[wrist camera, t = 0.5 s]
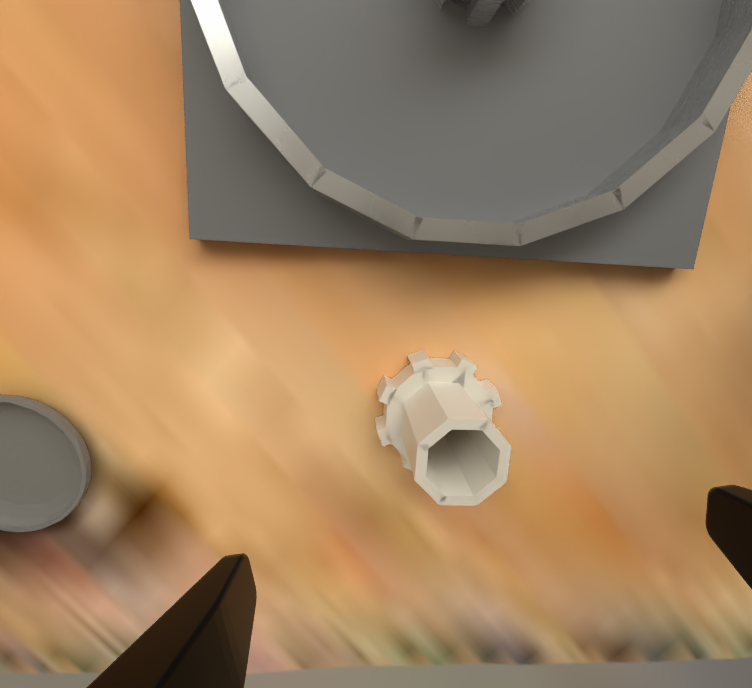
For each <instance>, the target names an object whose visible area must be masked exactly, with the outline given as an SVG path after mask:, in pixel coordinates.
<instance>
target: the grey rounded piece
mask: <svg viewBox="0 0 752 688" xmlns="http://www.w3.org/2000/svg"><path fill="white" fill-rule="evenodd" d="M90 480H91V458H90V455H89V452H88V449H87V446H86V443H85V441H84V439H83V438H82V436H81V435H80V433H79V432H78V430H77V429H76V428H75V427H74V426H73V425H72V424H71V423H70V422H69V420H67V419H66V418H65V417H64V416H62V415H61V414H60V413H59V412H58V411H56V410H54V409H53V408H51V407H49V406H47V405H45V404H43V403H41V402H38V401H35V400H32V399H29V398H26V397H23V396H13V395H2V394H0V530H3V531H10V532H29V531H34V530H40V529H43V528H46V527H48V526H50V525H53V524H55V523H58V522H59V521H61V520H62V519H63V518H65V517H66V516H67V515H69V514H70V513H71V512H72V511H73V510H74V509H75V508H76V507H77V506H78V505H79V504H80V502H81V500H82V499H83V497H84V496H85V494H86V492H87V490H88V486H89V483H90Z"/></svg>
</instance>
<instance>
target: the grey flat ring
mask: <svg viewBox="0 0 752 688" xmlns="http://www.w3.org/2000/svg"><path fill="white" fill-rule="evenodd" d="M191 2H192V5H193V7H194V10H195V12H196V15H197V17H198V20H199V23H200V25H201V28H202V30H203V33H204V35H205V38H206V40H207V43H208V46H209V48H210V51H211V53H212V56H213V58H214V61H215V64H216V66H217V69H218V71H219V74H220V76H221V79H222V82H223V84H224V87H225V89H226V91H227V92H228V93H229V94H230V96H231V97H232V98H233V99H234V101H235V102H236V103H237V104H238V106H239V107H240V108H241V109H242V110H243V111H244V113H245V114H246V115H247V116H248V117H249V118H250V119H251V121H252V122H253V123H254V124H255V125H256V126H257V127H258V129H259V130H260V131H261V132H262V133H263V134H264V135H265V137H266V138H267V139H268V140H269V141H270V142H271V143H272V145H273V146H274V147H275V148H276V149H277V150H278V151H279V153H280V154H281V155H282V156H283V157H284V158H285V159H286V161H287V162H288V163H289V164H290V165H291V166H292V168H293V169H294V170H295V171H296V172H297V173H298V174H299V176H300V177H301V178H302V179H303V180H304V181H305V182H306V184H307V185H308V186H309V187H310V188H311V189H312V190H313V192H314V193H315V194H317V195H319V196H321V197H323V198H325V199H327V200H329V201H331V202H333V203H335V204H337V205H339V206H341V207H343V208H345V209H347V210H349V211H351V212H353V213H354V214H356V215H358V216H360V217H362V218H364V219H366V220H368V221H370V222H372V223H374V224H376V225H378V226H380V227H382V228H384V229H386V230H388V231H390V232H392V233H394V234H396V235H398V236H400V237H402V238H404V239H406V240H420V241H436V242H453V243H469V244H485V245H501V246H522V245H525V244H528V243H530V242H533V241H536V240H539V239H542V238H544V237H547V236H550V235H553V234H556V233H559V232H561V231H564V230H567V229H570V228H573V227H576V226H578V225H581V224H584V223H587V222H590V221H592V220H595V219H598V218H601V217H604V216H607V215H609V214H612V213H615V212H618V211H621V210H624V209H625V208H626V207H627V206H628V205H630V204H631V203H632V202H633V201H634V200H636V199H637V198H638V197H639V196H640V195H641V194H643V193H644V192H645V191H646V190H647V189H648V188H650V187H651V186H652V185H653V184H654V183H655V182H657V181H658V180H659V179H660V178H661V177H662V176H664V175H665V174H666V173H667V172H668V171H669V170H671V169H672V168H673V167H674V166H675V165H677V164H678V163H679V162H680V161H681V160H682V159H684V158H685V157H686V156H687V155H688V154H689V153H691V152H692V151H693V150H694V149H695V148H696V147H698V146H699V145H700V144H701V143H702V142H703V141H705V140H706V139H707V138H708V137H709V136H711V135H712V134H713V133H714V132H715V131H716V129H717V127H718V126H719V124H720V122H721V121H722V119H723V117H724V116H725V114H726V112H727V111H728V109H729V107H730V106H731V104H732V102H733V101H734V99H735V97H736V96H737V94H738V92H739V91H740V89H741V87H742V86H743V84H744V82H745V81H746V79H747V77H748V76H749V74H750V72H751V71H752V0H723V1H722V5H721V10H720V15H719V19H718V24H717V29H716V33H715V37H714V39H713V41H712V42H711V44H710V46H709V48H708V49H707V51H706V53H705V55H704V56H703V58H702V60H701V62H700V63H699V65H698V67H697V69H696V70H695V72H694V74H693V76H692V77H691V79H690V81H689V82H688V84H687V86H686V88H685V89H684V91H683V93H682V95H681V96H680V98H679V100H678V102H677V103H676V105H675V107H674V109H673V110H672V112H671V114H670V116H669V117H668V119H667V121H666V123H665V124H664V126H663V128H662V129H661V131H660V132H659V133H658V134H656V135H655V136H654V137H653V138H652V139H651V140H649V141H648V142H647V143H646V144H645V145H644V146H643V147H641V148H640V149H639V150H638V151H637V152H636V153H635V154H633V155H632V156H631V157H630V158H629V159H628V160H626V161H625V162H624V163H623V164H622V165H621V166H620V167H618V168H617V169H616V170H615V171H614V172H613V173H611V174H610V175H609V176H608V177H607V178H606V179H605V180H603V181H602V182H601V183H600V184H599V185H598V186H596V187H595V188H594V189H593V190H592V191H591V192H590V193H588V194H587V195H586V196H583V197H580V198H577V199H574V200H572V201H569V202H566V203H563V204H560V205H558V206H555V207H552V208H549V209H546V210H544V211H541V212H538V213H535V214H532V215H529V216H527V217H524V218H521V219H518V220H515V221H513V222H510V223H501V222H486V221H471V220H456V219H441V218H426V217H418V216H416V215H414V214H412V213H410V212H408V211H406V210H405V209H403V208H401V207H399V206H397V205H395V204H393V203H391V202H389V201H387V200H385V199H383V198H382V197H380V196H378V195H376V194H374V193H372V192H370V191H368V190H366V189H364V188H362V187H360V186H358V185H357V184H355V183H353V182H351V181H349V180H347V179H345V178H343V177H341V176H339V175H337V174H335V173H333V172H332V171H330V170H328V169H326V168H324V167H323V165H322V164H321V163H320V162H319V161H318V160H317V158H316V157H315V156H314V155H313V154H312V153H311V151H310V150H309V149H308V148H307V147H306V146H305V144H304V143H303V142H302V141H301V140H300V139H299V137H298V136H297V135H296V134H295V133H294V132H293V130H292V129H291V128H290V127H289V126H288V124H287V123H286V122H285V121H284V120H283V119H282V117H281V116H280V115H279V114H278V113H277V112H276V110H275V109H274V108H273V107H272V106H271V105H270V103H269V102H268V101H267V100H266V99H265V98H264V96H263V95H262V94H261V93H260V92H259V90H258V89H257V88H256V87H255V86H254V83H253V80H252V78H251V75H250V72H249V70H248V67H247V64H246V61H245V59H244V56H243V53H242V51H241V48H240V45H239V43H238V40H237V37H236V35H235V32H234V29H233V27H232V24H231V21H230V19H229V16H228V13H227V10H226V8H225V5H224V2H223V0H191Z"/></svg>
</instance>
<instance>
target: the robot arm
mask: <svg viewBox="0 0 752 688" xmlns="http://www.w3.org/2000/svg"><path fill="white" fill-rule="evenodd" d="M706 528H707V531H708V533H709V535H710V537H711V538H712V540H713V541H714V542H715V544H716V545H717V546H718V547H719V549H720V550H721V551H722V552H723V554H724V555H725V556H726V557H727V559H728V560H729V561H730V562H731V564H732V565H733V566H734V568H735V569H736V570H737V571H738V573H739V574H740V575H741V576H742V578H743V579H744V580H745V581H746V583H747V584H748V585H749V586H750V588H751V589H752V490H750V489H746V488H743V487H740V486H736V485H727V486H720V487H714V488H712V489H710V491H709V492H708V498H707V512H706ZM255 607H256V586H255V582H254V578H253V574H252V570H251V565H250V561H249V558H248V556H247V555H246V554H244V553H242V554H235V555H228V556H225V557H223V558H222V559H221V560H220V561H219V562H218V563H217V564H216V565H215V566H214V567H212V568H211V569H210V570H209V571H208V572H207V573H206V574H205V575H204V576H203V577H202V578H201V579H200V580H199V581H198V582H197V583H196V584H195V585H194V586H193V587H192V588H190V589H189V590H188V591H187V592H186V593H185V594H184V595H183V596H182V597H181V598H180V599H179V600H178V601H177V602H176V603H175V604H174V605H173V606H172V607H171V608H170V609H169V610H167V611H166V612H165V613H164V614H163V615H162V616H161V617H160V618H159V619H158V620H157V621H156V622H155V623H154V624H153V625H152V626H151V627H150V628H149V629H148V630H147V631H145V632H144V633H143V634H142V635H141V636H140V637H139V638H138V639H137V640H136V641H135V642H134V643H133V644H132V645H131V646H130V647H129V648H128V649H127V650H126V651H125V652H124V653H122V654H121V655H120V656H119V657H118V658H117V659H116V660H115V661H114V662H113V663H112V664H111V665H110V666H109V667H108V668H107V669H106V670H105V671H104V672H103V673H102V674H100V675H99V676H98V677H97V679H95V680H94V681H93V682H92V683H91V684H90V685H89V686H88V687H87V688H244V683H245V677H246V670H247V663H248V656H249V649H250V642H251V635H252V628H253V621H254V614H255Z"/></svg>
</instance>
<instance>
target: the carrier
mask: <svg viewBox="0 0 752 688" xmlns="http://www.w3.org/2000/svg"><path fill="white" fill-rule="evenodd" d="M722 1H723V0H530V1H529V2H528V3H527V4H526V5H525V6H524V7H523V8H522V9H521V10H520V11H519V12H518V13H517V14H516V15H515V16H513V17H512V15H511V14H510V12H509V11H508V9H507V8H506V6H503V7H501V8H499V9H497V11H496V12H495V14H494V15H493V17H492V19H491V20H490V22H489V23H488V25H487V26H486V27H483V26H473V25H465V23H466V13H467V9H464V8H462V7H460V6H458V5H457V4H456V3H454V2H453V1H452V0H450V1H449V2H448V3H447V4H446V5H445V6H444V7H443V8H442V9H440V8H439V6H438V5H437V4H436V2H435V1H434V0H223V2H224V5H225V8H226V10H227V13H228V16H229V19H230V21H231V24H232V27H233V29H234V32H235V35H236V37H237V40H238V43H239V45H240V48H241V51H242V53H243V56H244V59H245V61H246V64H247V67H248V70H249V72H250V75H251V78H252V80H253V83H254V86H255V87H256V88H257V89H258V90H259V92H260V93H261V94H262V95H263V96H264V98H265V99H266V100H267V101H268V102H269V103H270V105H271V106H272V107H273V108H274V109H275V110H276V112H277V113H278V114H279V115H280V116H281V117H282V119H283V120H284V121H285V122H286V123H287V124H288V126H289V127H290V128H291V129H292V130H293V132H294V133H295V134H296V135H297V136H298V137H299V139H300V140H301V141H302V142H303V143H304V144H305V146H306V147H307V148H308V149H309V150H310V151H311V153H312V154H313V155H314V156H315V157H316V158H317V160H318V161H319V162H320V163H321V164H322V165H323V167H324V168H326V169H328V170H330V171H332V172H333V173H335V174H337V175H339V176H341V177H343V178H345V179H347V180H349V181H351V182H353V183H355V184H357V185H358V186H360V187H362V188H364V189H366V190H368V191H370V192H372V193H374V194H376V195H378V196H380V197H382V198H383V199H385V200H387V201H389V202H391V203H393V204H395V205H397V206H399V207H401V208H403V209H405V210H406V211H408V212H410V213H412V214H414V215H416V216H418V217H426V218H441V219H456V220H471V221H486V222H501V223H510V222H513V221H515V220H518V219H521V218H524V217H527V216H529V215H532V214H535V213H538V212H541V211H544V210H546V209H549V208H552V207H555V206H558V205H560V204H563V203H566V202H569V201H572V200H574V199H577V198H580V197H583V196H586V195H587V194H588V193H590V192H591V191H592V190H593V189H594V188H595V187H596V186H598V185H599V184H600V183H601V182H602V181H603V180H605V179H606V178H607V177H608V176H609V175H610V174H611V173H613V172H614V171H615V170H616V169H617V168H618V167H620V166H621V165H622V164H623V163H624V162H625V161H626V160H628V159H629V158H630V157H631V156H632V155H633V154H635V153H636V152H637V151H638V150H639V149H640V148H641V147H643V146H644V145H645V144H646V143H647V142H648V141H649V140H651V139H652V138H653V137H654V136H655V135H656V134H658V133H659V132H660V131H661V129H662V128H663V126H664V124H665V123H666V121H667V119H668V117H669V116H670V114H671V112H672V110H673V109H674V107H675V105H676V103H677V102H678V100H679V98H680V96H681V95H682V93H683V91H684V89H685V88H686V86H687V84H688V82H689V81H690V79H691V77H692V76H693V74H694V72H695V70H696V69H697V67H698V65H699V63H700V62H701V60H702V58H703V56H704V55H705V53H706V51H707V49H708V48H709V46H710V44H711V42H712V41H713V39H714V37H715V33H716V29H717V24H718V19H719V15H720V10H721V5H722ZM180 14H181V38H182V63H183V87H184V112H185V137H186V161H187V186H188V211H189V235H190V239H199V240H216V241H232V242H249V243H265V244H282V245H299V246H315V247H332V248H349V249H365V250H382V251H399V252H415V253H432V254H449V255H465V256H482V257H499V258H515V259H532V260H549V261H565V262H582V263H598V264H615V265H632V266H648V267H665V268H682V269H693V268H694V264H695V259H696V255H697V250H698V246H699V242H700V237H701V233H702V229H703V224H704V220H705V216H706V211H707V207H708V202H709V198H710V194H711V189H712V185H713V181H714V176H715V172H716V168H717V163H718V159H719V154H720V150H721V146H722V141H723V137H724V133H725V128H726V124H727V119H728V115H729V111H730V107H729V109H728V111H727V112H726V114H725V116H724V117H723V119H722V121H721V122H720V124H719V126H718V127H717V129H716V131H715V132H714V133H713V134H712V135H711V136H709V137H708V138H707V139H706V140H705V141H703V142H702V143H701V144H700V145H699V146H698V147H696V148H695V149H694V150H693V151H692V152H691V153H689V154H688V155H687V156H686V157H685V158H684V159H682V160H681V161H680V162H679V163H678V164H677V165H675V166H674V167H673V168H672V169H671V170H669V171H668V172H667V173H666V174H665V175H664V176H662V177H661V178H660V179H659V180H658V181H657V182H655V183H654V184H653V185H652V186H651V187H650V188H648V189H647V190H646V191H645V192H644V193H643V194H641V195H640V196H639V197H638V198H637V199H636V200H634V201H633V202H632V203H631V204H630V205H628V206H627V207H626V208H625V209H624V210H621V211H618V212H615V213H612V214H609V215H607V216H604V217H601V218H598V219H595V220H592V221H590V222H587V223H584V224H581V225H578V226H576V227H573V228H570V229H567V230H564V231H561V232H559V233H556V234H553V235H550V236H547V237H544V238H542V239H539V240H536V241H533V242H530V243H528V244H525V245H522V246H501V245H485V244H469V243H453V242H436V241H420V240H406V239H404V238H402V237H400V236H398V235H396V234H394V233H392V232H390V231H388V230H386V229H384V228H382V227H380V226H378V225H376V224H374V223H372V222H370V221H368V220H366V219H364V218H362V217H360V216H358V215H356V214H354V213H353V212H351V211H349V210H347V209H345V208H343V207H341V206H339V205H337V204H335V203H333V202H331V201H329V200H327V199H325V198H323V197H321V196H319V195H317V194H315V193H314V192H313V190H312V189H311V188H310V187H309V186H308V185H307V184H306V182H305V181H304V180H303V179H302V178H301V177H300V176H299V174H298V173H297V172H296V171H295V170H294V169H293V168H292V166H291V165H290V164H289V163H288V162H287V161H286V159H285V158H284V157H283V156H282V155H281V154H280V153H279V151H278V150H277V149H276V148H275V147H274V146H273V145H272V143H271V142H270V141H269V140H268V139H267V138H266V137H265V135H264V134H263V133H262V132H261V131H260V130H259V129H258V127H257V126H256V125H255V124H254V123H253V122H252V121H251V119H250V118H249V117H248V116H247V115H246V114H245V113H244V111H243V110H242V109H241V108H240V107H239V106H238V104H237V103H236V102H235V101H234V99H233V98H232V97H231V96H230V94H229V93H228V92H227V91H226V89H225V87H224V84H223V82H222V79H221V76H220V74H219V71H218V69H217V66H216V64H215V61H214V58H213V56H212V53H211V51H210V48H209V46H208V43H207V40H206V38H205V35H204V33H203V30H202V28H201V25H200V23H199V20H198V17H197V15H196V12H195V10H194V7H193V5H192V2H191V0H180Z"/></svg>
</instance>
